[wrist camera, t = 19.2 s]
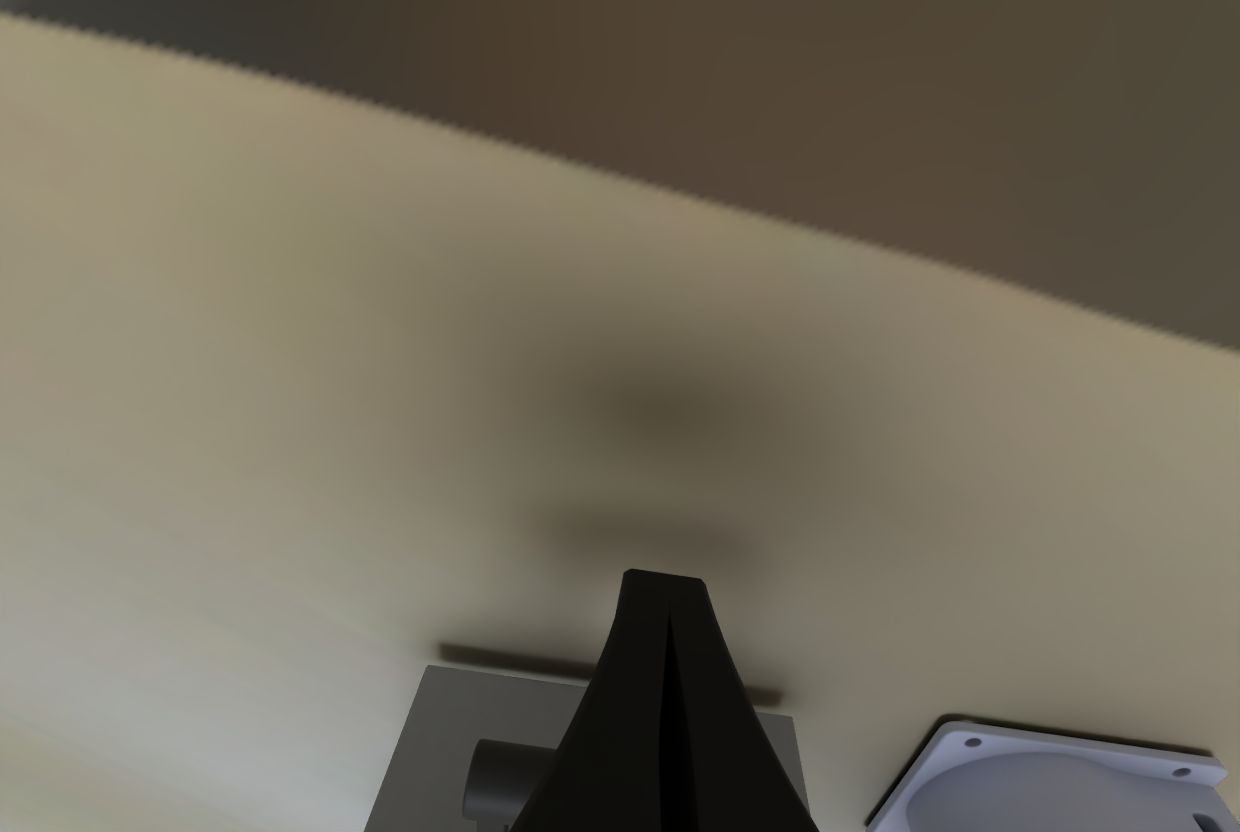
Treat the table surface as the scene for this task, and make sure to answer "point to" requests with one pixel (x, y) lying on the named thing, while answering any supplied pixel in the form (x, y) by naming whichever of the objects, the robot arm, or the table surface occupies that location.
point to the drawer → (494, 751)
